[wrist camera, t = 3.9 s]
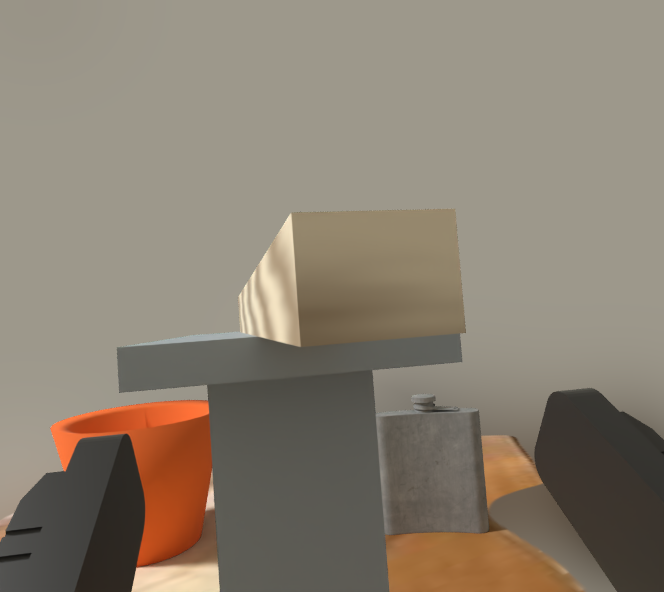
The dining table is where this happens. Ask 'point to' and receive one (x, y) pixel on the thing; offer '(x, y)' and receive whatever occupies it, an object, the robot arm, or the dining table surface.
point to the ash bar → (357, 279)
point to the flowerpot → (157, 466)
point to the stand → (290, 451)
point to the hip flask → (432, 469)
